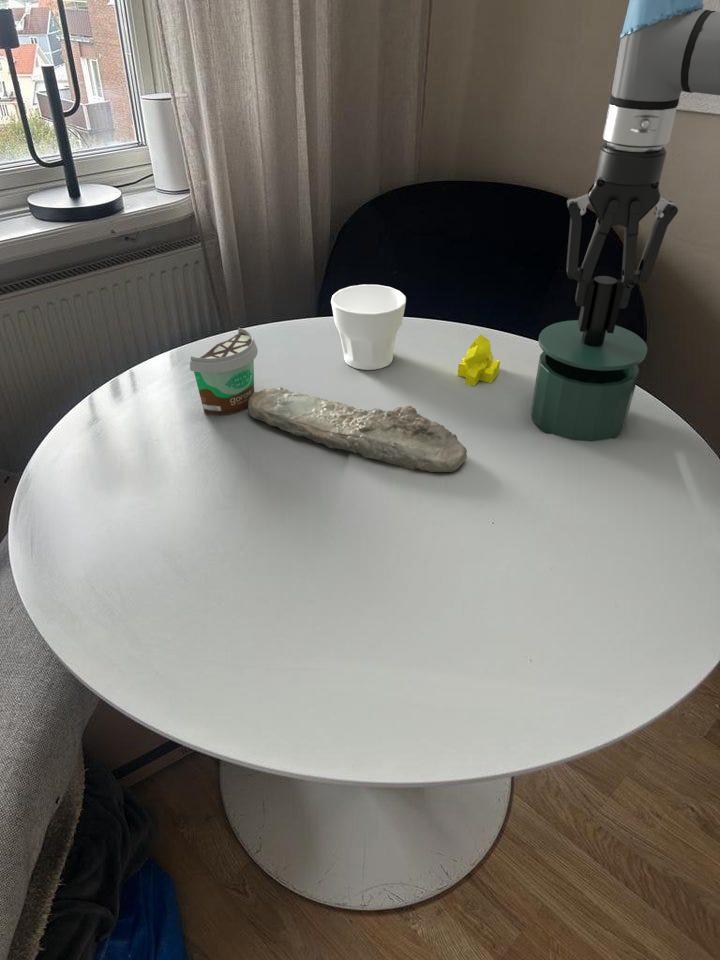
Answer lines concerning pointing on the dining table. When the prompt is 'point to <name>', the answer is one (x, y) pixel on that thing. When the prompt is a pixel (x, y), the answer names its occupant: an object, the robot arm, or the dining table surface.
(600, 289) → the pot lid
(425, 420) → the elongated rock
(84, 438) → the dining table surface
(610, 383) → the pot
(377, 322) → the cup
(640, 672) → the dining table surface
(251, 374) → the food container
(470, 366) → the yellow faceted cluster
